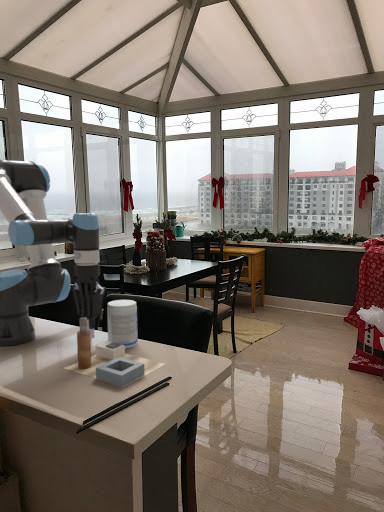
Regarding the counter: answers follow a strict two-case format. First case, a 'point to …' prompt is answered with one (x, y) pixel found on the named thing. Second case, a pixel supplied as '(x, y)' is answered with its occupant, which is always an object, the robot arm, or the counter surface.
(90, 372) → the plywood panel
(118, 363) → the socket
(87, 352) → the awl
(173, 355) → the counter surface
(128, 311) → the supplement tub
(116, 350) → the block
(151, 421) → the counter surface
